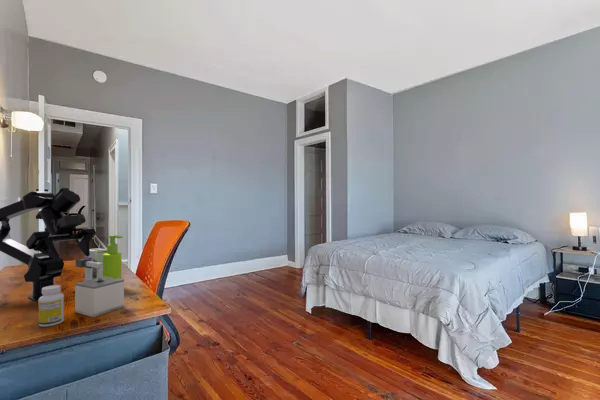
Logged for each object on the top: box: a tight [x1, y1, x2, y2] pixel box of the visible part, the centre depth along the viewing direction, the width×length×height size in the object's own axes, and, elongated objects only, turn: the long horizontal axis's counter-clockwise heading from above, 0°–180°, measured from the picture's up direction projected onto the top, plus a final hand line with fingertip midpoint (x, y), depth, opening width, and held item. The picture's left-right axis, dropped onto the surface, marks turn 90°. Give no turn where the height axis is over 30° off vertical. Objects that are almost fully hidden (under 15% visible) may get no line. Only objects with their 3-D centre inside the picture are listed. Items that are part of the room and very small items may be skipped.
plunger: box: [75, 257, 103, 283], centre depth 94 cm, size 11×3×8 cm, turn 65°
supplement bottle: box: [37, 284, 65, 328], centre depth 82 cm, size 5×5×10 cm
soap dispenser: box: [103, 234, 124, 279], centre depth 115 cm, size 6×7×20 cm
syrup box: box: [84, 248, 107, 281], centre depth 117 cm, size 6×6×14 cm
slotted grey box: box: [74, 277, 125, 318], centre depth 92 cm, size 9×9×9 cm
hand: (74, 257), depth 99 cm, fingers open, 9 cm apart
